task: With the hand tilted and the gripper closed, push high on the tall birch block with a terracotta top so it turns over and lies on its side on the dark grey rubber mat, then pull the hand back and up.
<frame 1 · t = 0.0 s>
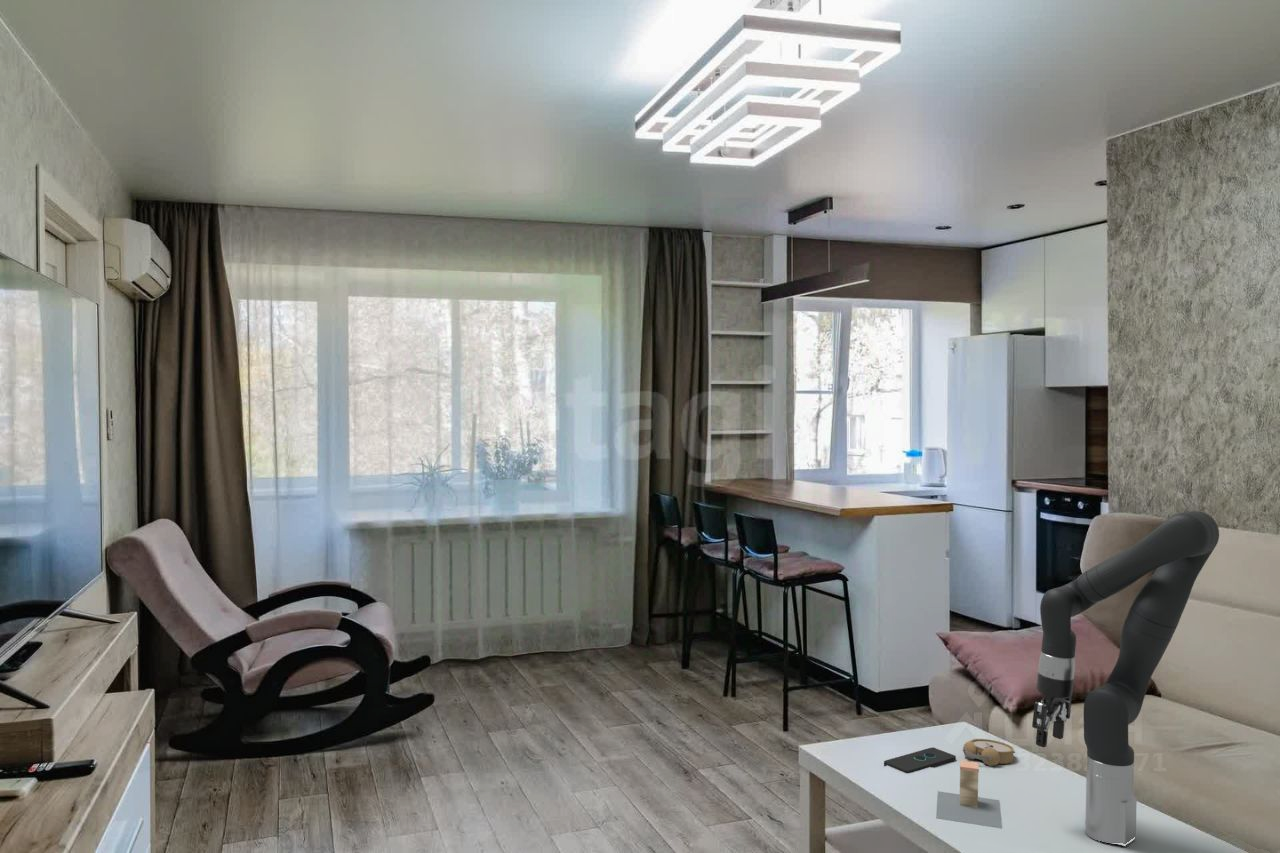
hand: (1049, 741, 211), 17 cm above the table, tool pointing down, fingers open, 8 cm apart
rubber mat: (968, 811, 214), on the table
birch block: (968, 802, 217), resting on rubber mat
smart home device: (920, 765, 243), on the table
alarm clock: (987, 760, 247), on the table
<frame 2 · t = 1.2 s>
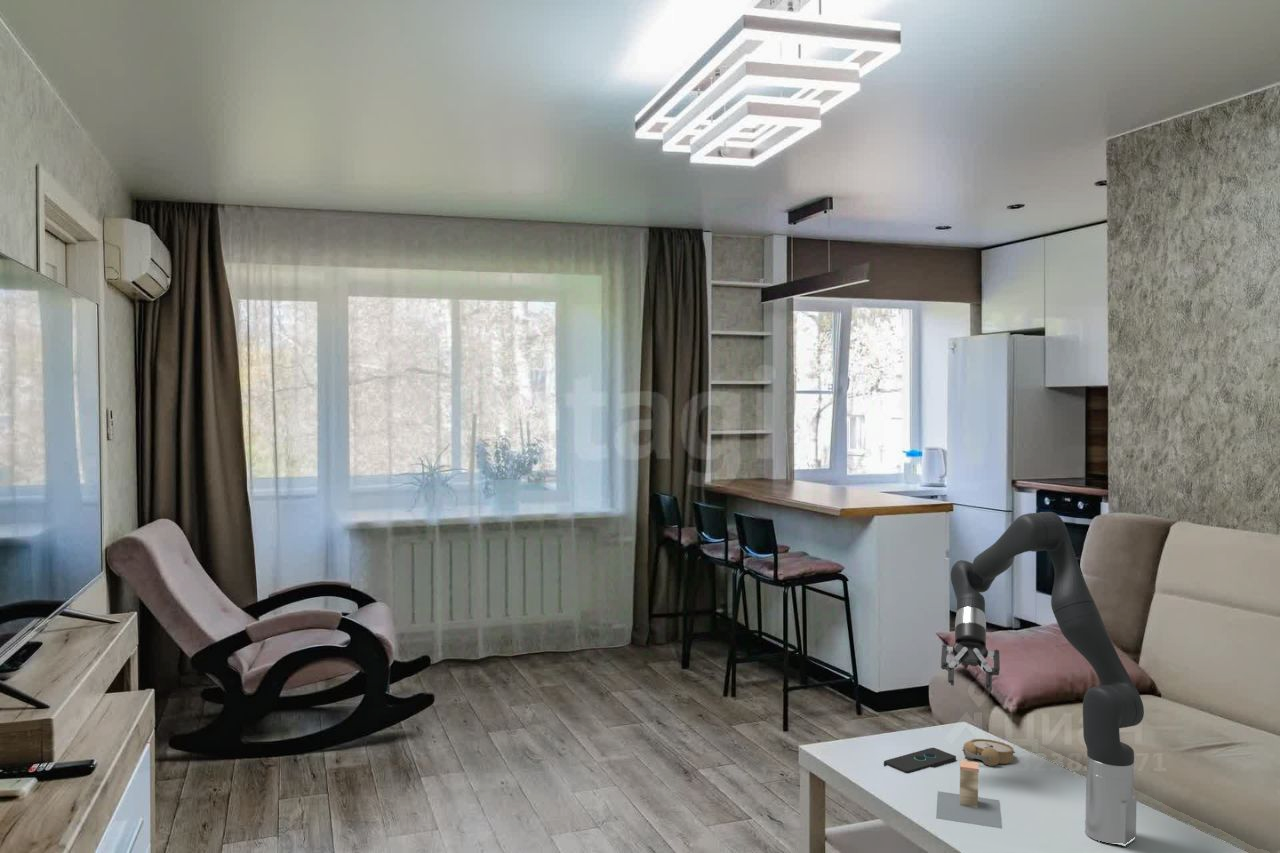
hand: (969, 686, 227), 25 cm above the table, tool tilted 45°, fingers open, 7 cm apart
nothing on the table moved.
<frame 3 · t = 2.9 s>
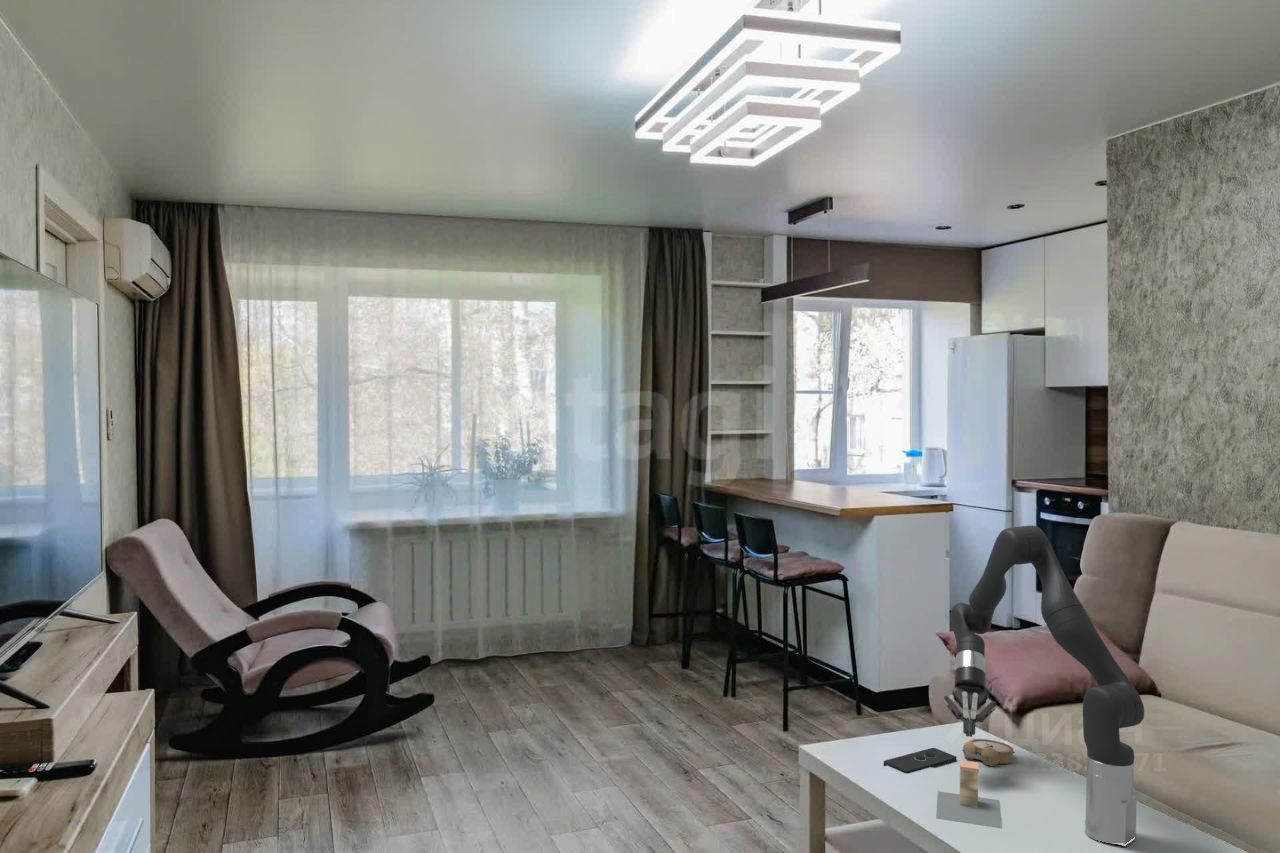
hand: (969, 735, 226), 13 cm above the table, tool tilted 45°, fingers closed
nothing on the table moved.
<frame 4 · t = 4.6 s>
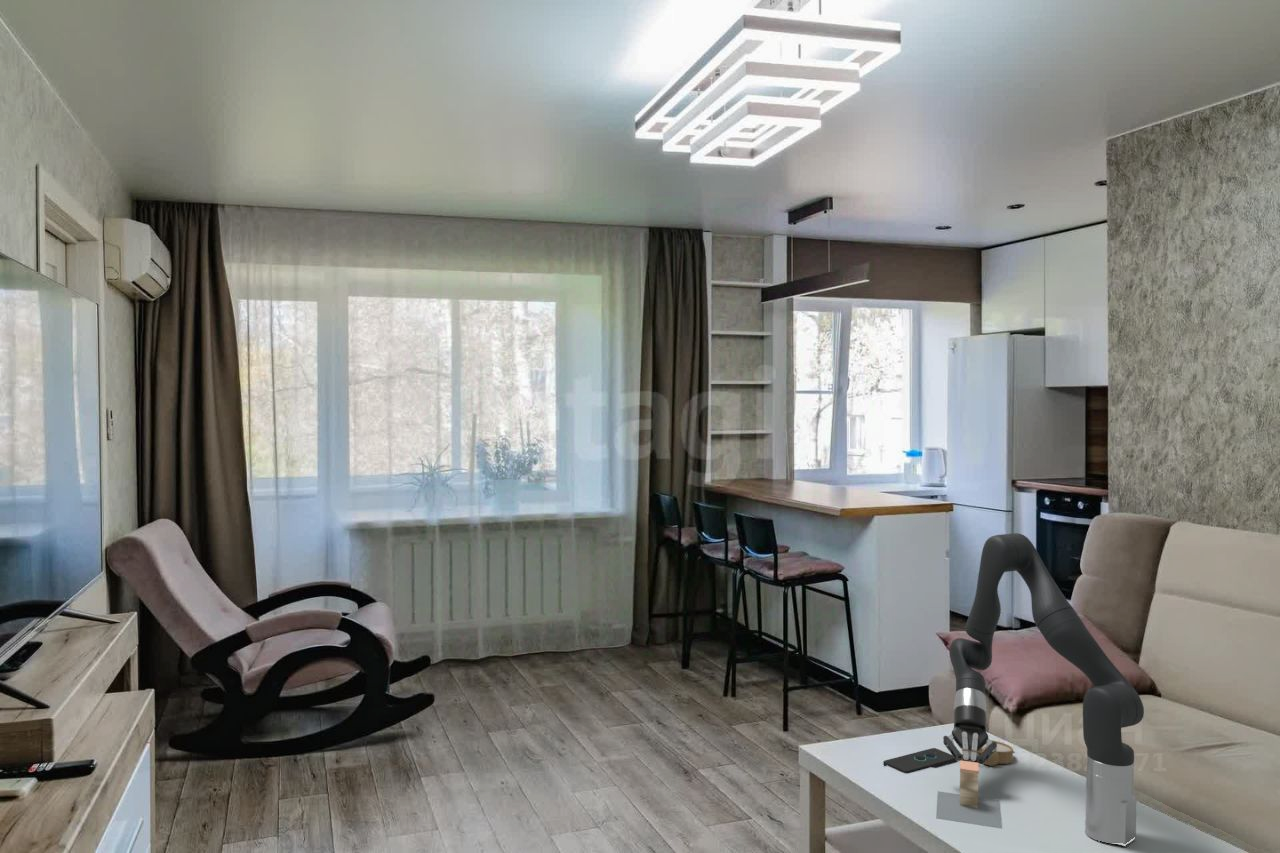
hand: (969, 777, 219), 6 cm above the table, tool tilted 45°, fingers closed
birch block: (968, 801, 217), point 1 cm above the table, tilted 7°, touching rubber mat
everything else where it was.
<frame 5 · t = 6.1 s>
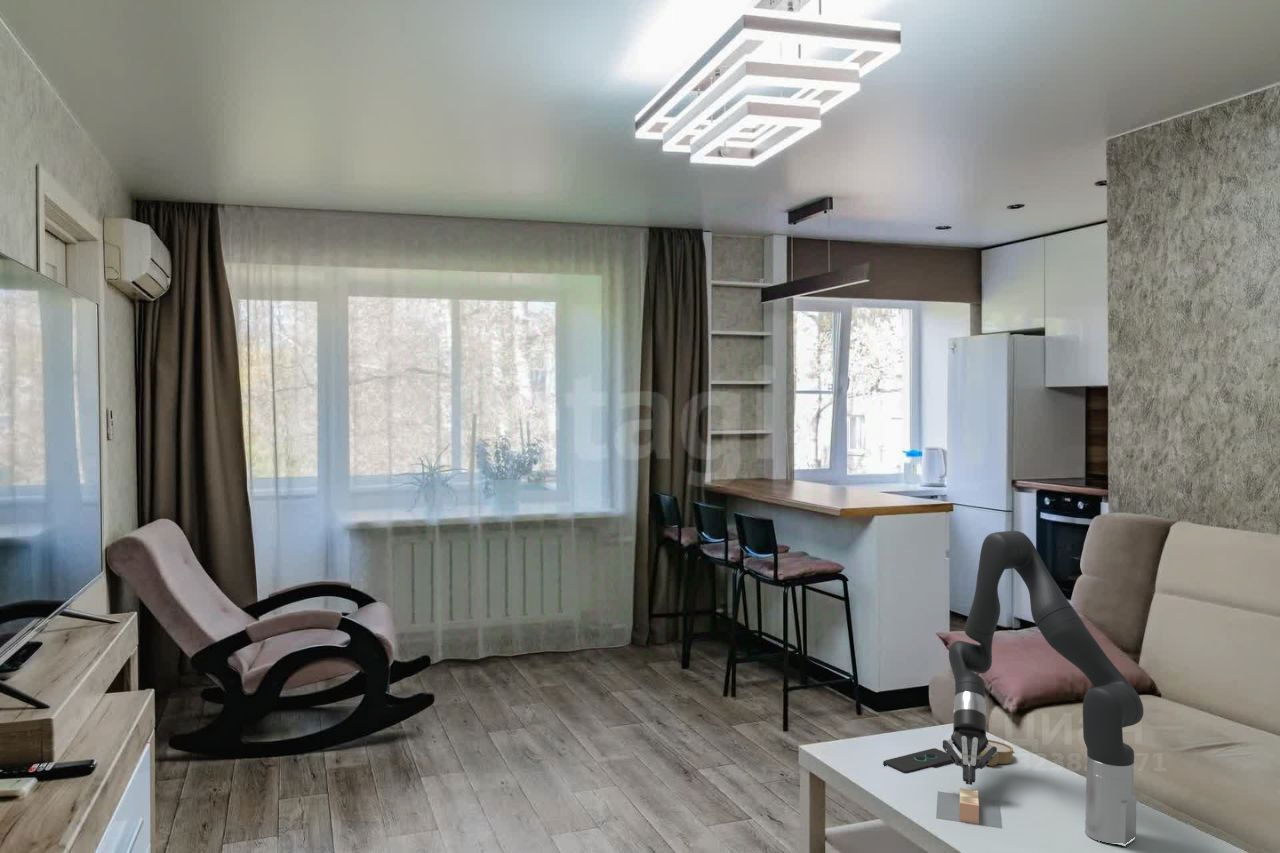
hand: (969, 783, 215), 6 cm above the table, tool tilted 45°, fingers closed
birch block: (968, 797, 215), point 2 cm above the table, tilted 90°, touching rubber mat
everything else where it was.
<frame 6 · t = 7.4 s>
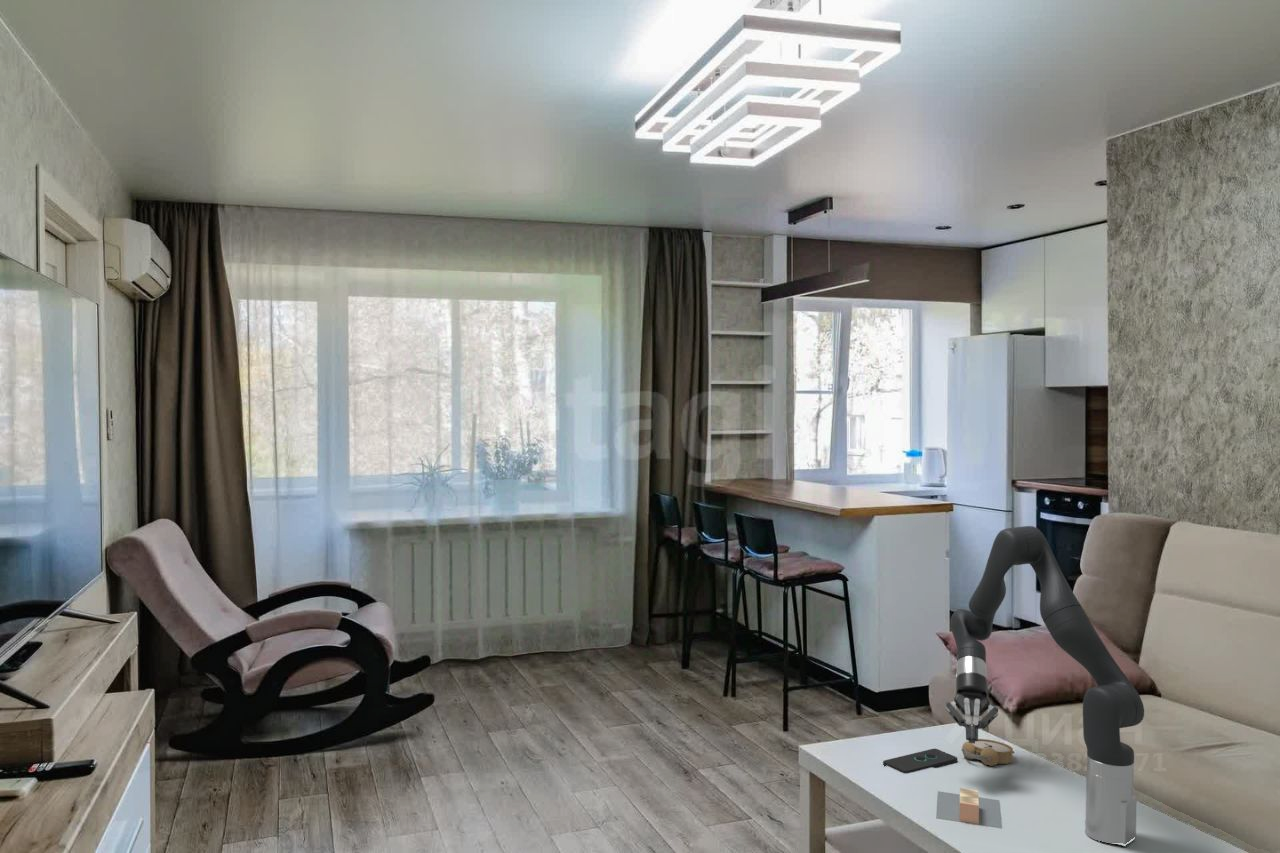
hand: (972, 741, 224), 12 cm above the table, tool tilted 45°, fingers closed
nothing on the table moved.
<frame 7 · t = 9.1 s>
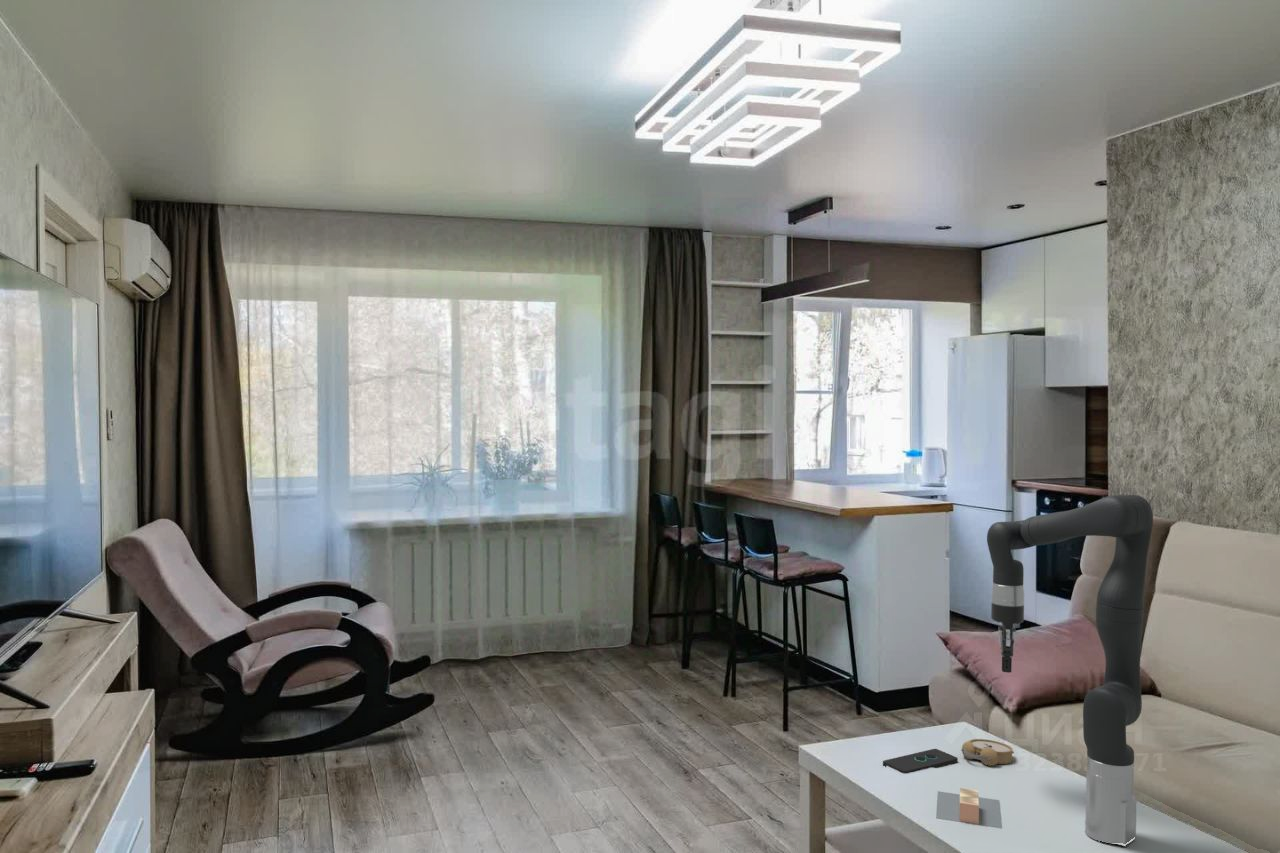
hand: (1006, 671, 228), 29 cm above the table, tool pointing down, fingers closed
nothing on the table moved.
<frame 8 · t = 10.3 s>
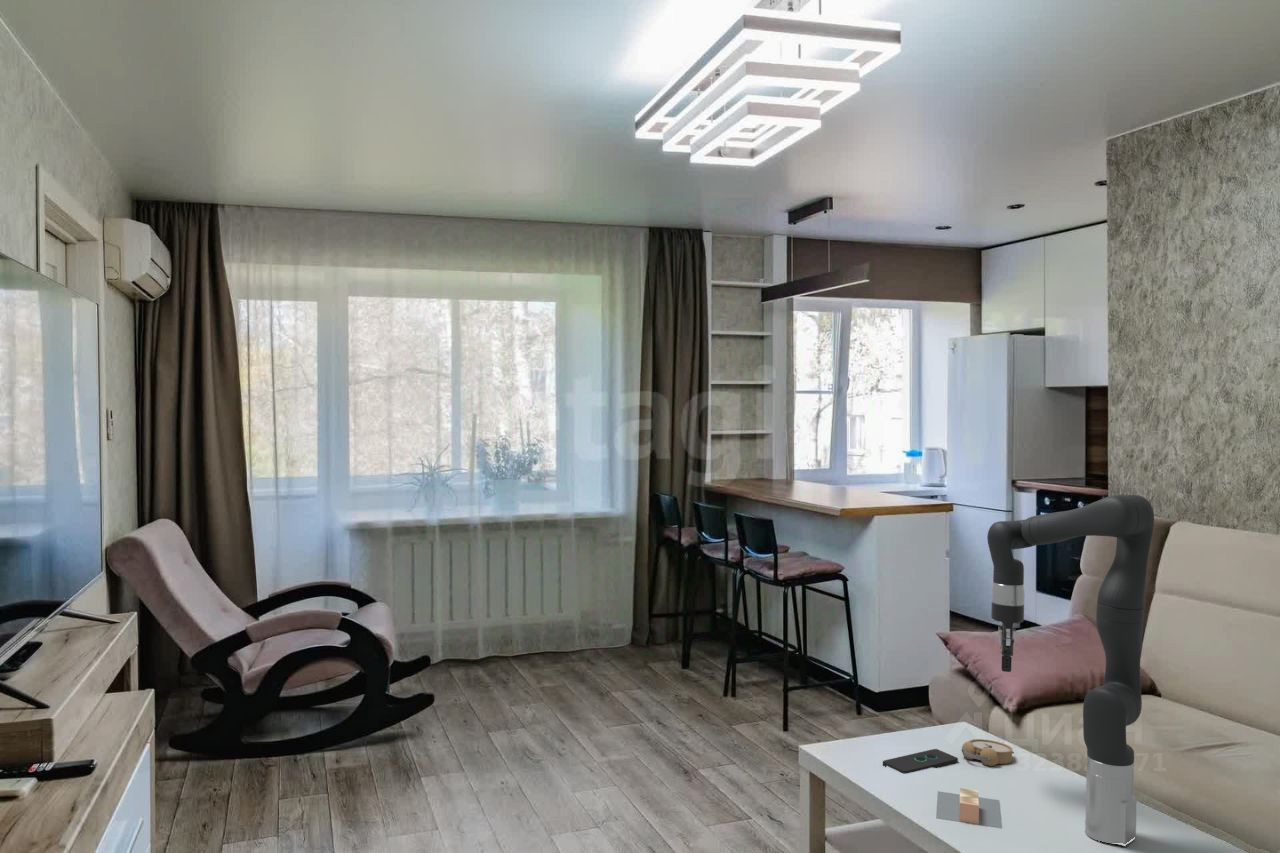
hand: (1006, 670, 228), 29 cm above the table, tool pointing down, fingers closed
nothing on the table moved.
at the end: birch block tilted 90°; birch block 1.5 cm from the rubber mat (horizontally); the gripper is holding nothing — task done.
